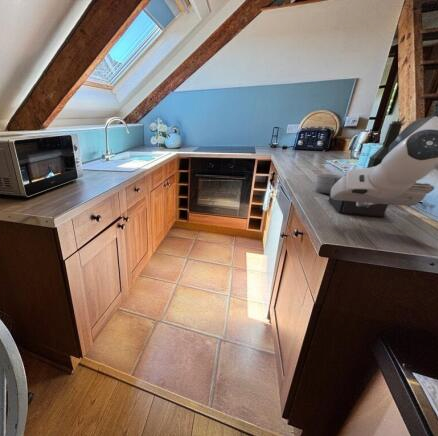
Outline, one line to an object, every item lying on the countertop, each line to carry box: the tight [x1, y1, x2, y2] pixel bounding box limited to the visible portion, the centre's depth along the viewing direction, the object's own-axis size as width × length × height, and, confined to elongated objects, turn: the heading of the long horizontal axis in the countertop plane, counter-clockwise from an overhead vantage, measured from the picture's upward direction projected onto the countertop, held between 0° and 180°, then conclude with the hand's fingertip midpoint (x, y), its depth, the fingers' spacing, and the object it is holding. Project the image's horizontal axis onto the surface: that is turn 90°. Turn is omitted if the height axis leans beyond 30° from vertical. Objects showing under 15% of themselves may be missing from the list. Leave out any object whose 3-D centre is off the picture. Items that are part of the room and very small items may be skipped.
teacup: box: [314, 173, 346, 195], centre depth 108 cm, size 14×11×8 cm
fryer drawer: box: [342, 201, 389, 217], centre depth 87 cm, size 15×11×8 cm
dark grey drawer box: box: [328, 178, 389, 218], centre depth 89 cm, size 15×13×10 cm
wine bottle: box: [366, 120, 403, 168], centre depth 96 cm, size 8×8×30 cm
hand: (361, 205), depth 77 cm, fingers closed
